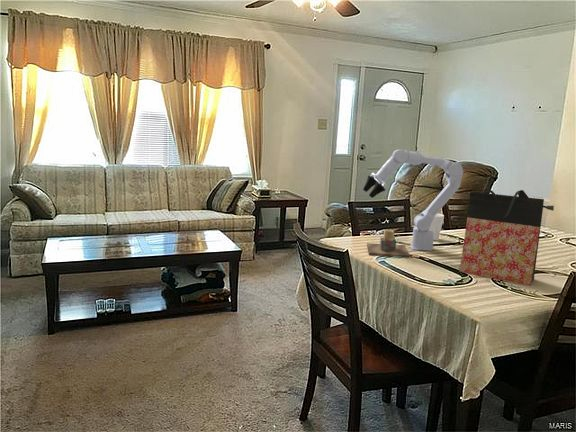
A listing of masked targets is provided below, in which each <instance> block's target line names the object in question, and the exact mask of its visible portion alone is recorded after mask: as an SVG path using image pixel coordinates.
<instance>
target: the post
mask: <svg viewBox="0 0 576 432" xmlns="http://www.w3.org/2000/svg"><path fill="white" fill-rule="evenodd" d="M394 235H395V231H394V230H393V229H384V230H383V238H384V239H383V240H385V241H393V238H394Z"/></svg>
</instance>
